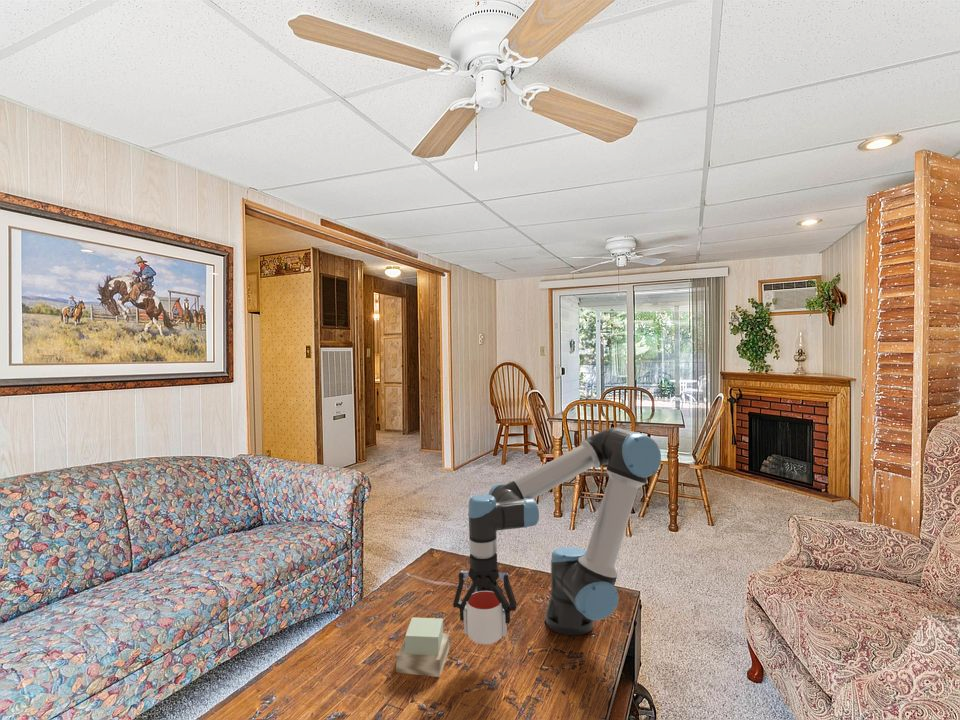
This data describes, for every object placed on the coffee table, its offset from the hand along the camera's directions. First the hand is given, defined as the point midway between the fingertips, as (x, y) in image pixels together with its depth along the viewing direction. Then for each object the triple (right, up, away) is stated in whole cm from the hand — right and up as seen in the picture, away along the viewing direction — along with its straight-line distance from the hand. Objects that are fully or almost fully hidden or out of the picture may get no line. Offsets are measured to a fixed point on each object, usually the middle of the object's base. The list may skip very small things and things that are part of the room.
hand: (485, 632), depth 133 cm
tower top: (-17, -4, +1) cm, 17 cm away
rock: (+2, -8, +36) cm, 37 cm away
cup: (0, -1, 0) cm, 1 cm away
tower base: (-17, -9, +2) cm, 19 cm away
